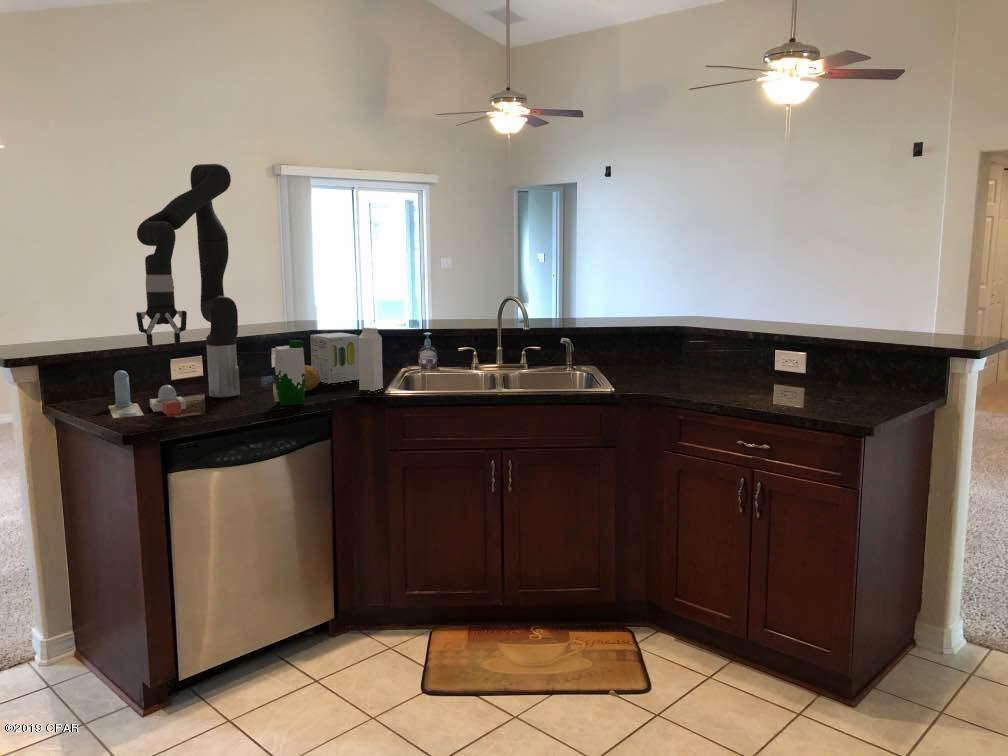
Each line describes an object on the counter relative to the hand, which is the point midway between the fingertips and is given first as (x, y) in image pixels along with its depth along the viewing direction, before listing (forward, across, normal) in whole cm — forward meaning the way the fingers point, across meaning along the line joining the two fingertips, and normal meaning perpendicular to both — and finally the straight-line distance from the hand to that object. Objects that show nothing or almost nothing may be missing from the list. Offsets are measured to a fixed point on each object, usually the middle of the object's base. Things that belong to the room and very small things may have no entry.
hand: (163, 345), depth 228 cm
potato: (+20, -44, -11) cm, 50 cm away
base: (+20, 0, 0) cm, 20 cm away
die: (+20, 0, +8) cm, 21 cm away
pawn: (+19, +12, -9) cm, 24 cm away
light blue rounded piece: (+17, 0, 0) cm, 17 cm away
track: (+20, +12, -1) cm, 23 cm away
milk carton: (+20, -36, +7) cm, 41 cm away
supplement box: (+20, -62, -27) cm, 70 cm away
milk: (+20, -66, -1) cm, 69 cm away
